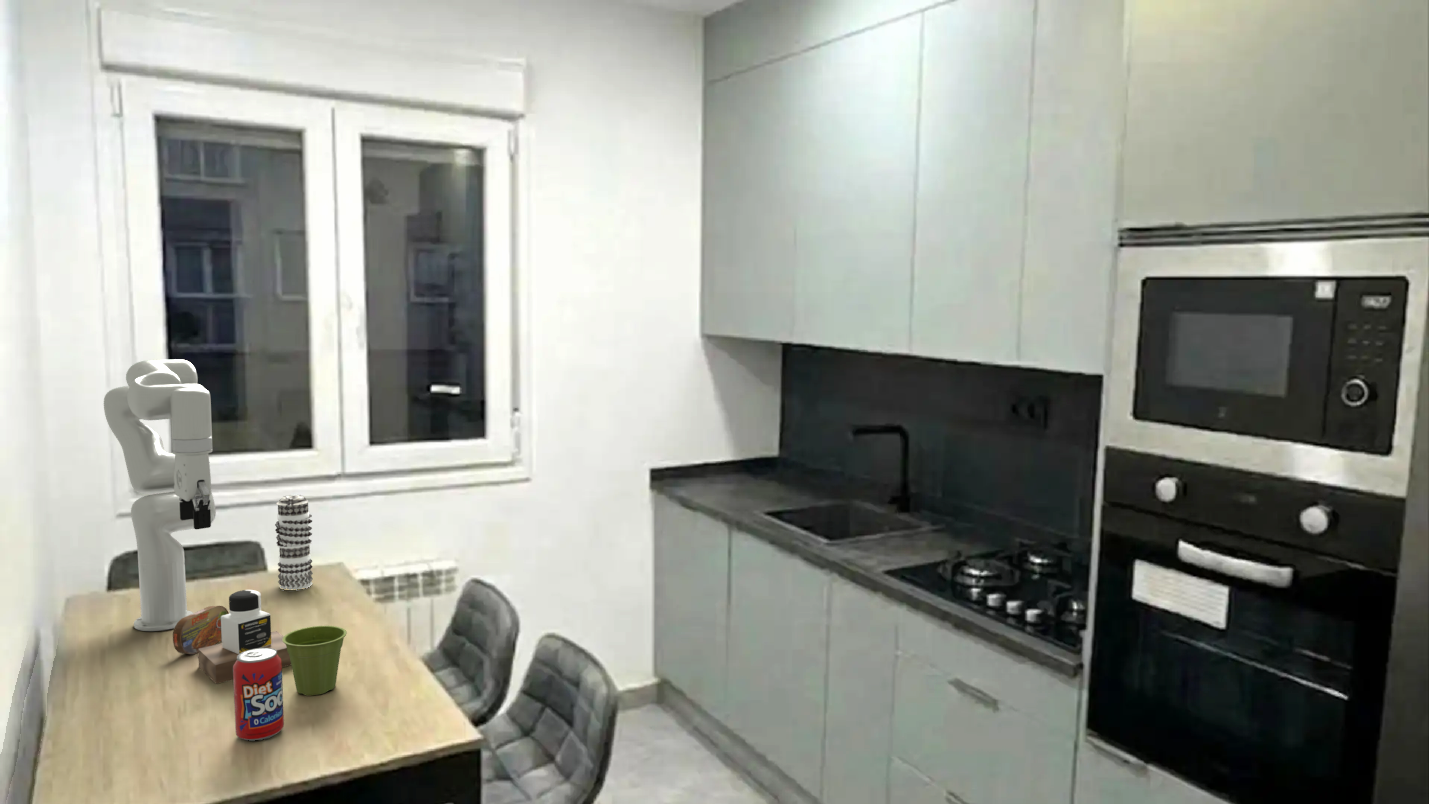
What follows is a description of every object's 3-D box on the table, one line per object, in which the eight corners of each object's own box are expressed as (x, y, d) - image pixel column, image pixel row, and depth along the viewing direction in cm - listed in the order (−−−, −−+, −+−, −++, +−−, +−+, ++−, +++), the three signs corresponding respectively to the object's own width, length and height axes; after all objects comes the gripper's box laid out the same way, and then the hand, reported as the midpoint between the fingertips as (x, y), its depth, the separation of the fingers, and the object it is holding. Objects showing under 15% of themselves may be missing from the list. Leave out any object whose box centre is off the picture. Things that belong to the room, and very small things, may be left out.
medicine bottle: (239, 655, 193) (237, 599, 191) (221, 648, 197) (219, 593, 195) (272, 645, 199) (270, 591, 197) (253, 638, 202) (251, 585, 201)
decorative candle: (321, 583, 255) (319, 495, 253) (294, 593, 247) (291, 501, 244) (297, 579, 259) (294, 491, 256) (269, 588, 250) (266, 498, 248)
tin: (183, 660, 200) (181, 622, 199) (170, 659, 201) (168, 621, 200) (232, 636, 215) (230, 601, 214) (220, 635, 215) (219, 600, 215)
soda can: (252, 723, 171) (249, 644, 169) (292, 725, 170) (290, 646, 169) (226, 742, 163) (222, 661, 162) (268, 745, 162) (264, 663, 161)
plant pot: (357, 689, 186) (356, 635, 185) (297, 706, 178) (295, 650, 177) (334, 672, 195) (332, 620, 193) (275, 688, 186) (273, 634, 185)
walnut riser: (198, 666, 196) (197, 648, 196) (277, 648, 208) (276, 631, 207) (216, 683, 188) (215, 664, 188) (297, 663, 199) (296, 645, 199)
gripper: (161, 441, 201) (164, 518, 203) (184, 453, 189) (188, 534, 191) (199, 438, 206) (202, 513, 208) (224, 449, 194) (227, 529, 196)
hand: (195, 523), depth 200 cm, fingers open, 9 cm apart
